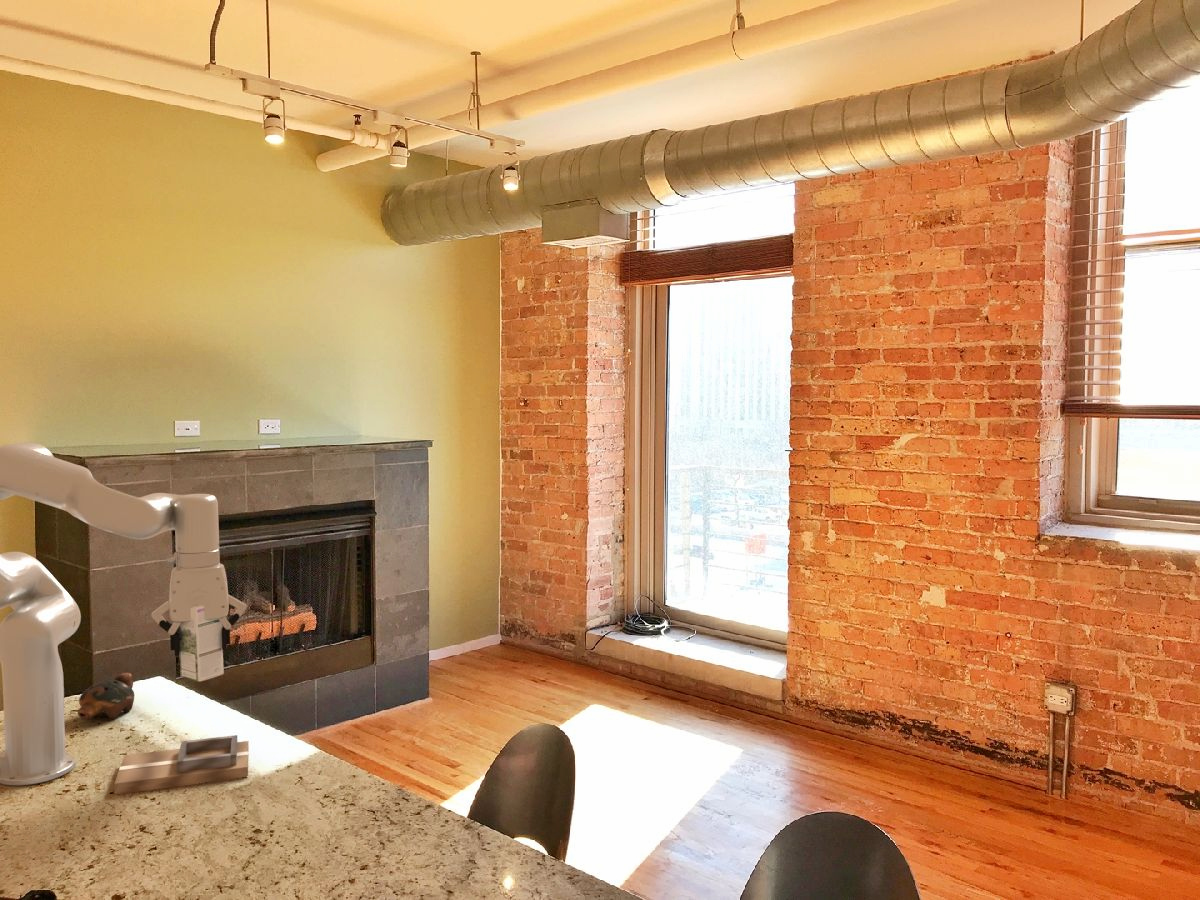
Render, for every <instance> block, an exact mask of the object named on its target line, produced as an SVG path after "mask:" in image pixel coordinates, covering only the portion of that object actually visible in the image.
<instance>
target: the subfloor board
mask: <svg viewBox="0 0 1200 900" xmlns="http://www.w3.org/2000/svg"><path fill="white" fill-rule="evenodd" d="M248 752H249V740H246V741H238V735H226V736H217V737H209V738H200V739H192V740H191V739H190V740H184V741H183V740H182V741H181V742H180V747H179V748H176V749H175V748H174V749H168V750H158V751H157V750H156V751H149V752H141V753H131V754H124V756H123V759H122V761H121V765H120V766H119V769H118V772H117V775H116V777H115V778H116V779H115V780H114V787H113V788H114V795H122V794H128V793H137V792H144V791H152V790H160V789H166V788H167V789H169V788H177V787H184V786H191V785H193V786H194V785H199V783H200V784H206V783H205V782H208V783H213V782H212V781H216V782H221V781H222V780H224V781H228V779H231V780H237V779H236V778H239V779H242V778H241V777H247V776H248V777H249V754H248ZM248 777H247V778H248ZM222 782H223V781H222Z"/></svg>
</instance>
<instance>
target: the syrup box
mask: <svg viewBox="0 0 1200 900" xmlns="http://www.w3.org/2000/svg"><path fill="white" fill-rule="evenodd" d="M204 608H205V607H204V606H203V604H202V605H197V606H193V607H191V608H190V609H191V621H190V622H184V623H181V624H180V625H179V627H178V632H179V673H180V674H179V676H180V677H181V678H183V679H187V680H191V681H195V682H203V681H207V680H210V679H214V678H217V677H219V676H223V675H224V674H225V672H224V671H225V670H224V657H223V656H224V653H223V652H224V650H222V628H223V625H222V624H221V622H220V621H219V620H218V619H217V620H205V617H204Z"/></svg>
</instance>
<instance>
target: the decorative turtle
mask: <svg viewBox="0 0 1200 900" xmlns="http://www.w3.org/2000/svg"><path fill="white" fill-rule="evenodd" d="M133 687H134V677H133V675H132V673H130V672H121V673H120V674H118V675H116V677H115V678H114V679H105V680H102V681H98V682H96V683H95V684H92V685H91V686H89V687H88V688H87V689H85V691H83V692H82V693H81V695H80V697H79V699H78V704H79V706H80V708H78V710H77V716H78V717H79V718H80V719H81V720H84V721H86V720H90V719H92V718H93V717H94V718H96V717H98V716H99V715H100V714H101V713H105V714H106V715H107V717H109V718H110V719H111V720H115V719H116V718H117V717H119V716H120V714H121V713H122V712H124V713H129V712H130V711H131V710H133V707H134V702H135V691H134V689H133ZM94 718H93V719H94Z"/></svg>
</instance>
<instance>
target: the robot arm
mask: <svg viewBox="0 0 1200 900" xmlns="http://www.w3.org/2000/svg"><path fill="white" fill-rule="evenodd" d="M13 496H19V497H21V498H22V497H23V498H25V499H28V500H31V501H35V502H37V503H41V504H44V505H47V506H49V507H50V506H51V507H53V508H56V509H59V510H63V511H65V512H68V513H69V514H70V515H71V516H73V517H74V518H77V519H78V520H80V521H82V522H84V523H85V524H87V525H90V526H91V527H94V528H96V529H99V530H103V531H105V532H107V533H111V534H116V535H118V536H122V537H125V538H129V539H133V540H149V539H151V538H153V537H156V536H158V535H160V534H163V533H165V532H169V531H174V532H175V535H174V538H175V552H174V553H173V554H171V555H170V554H169V555H167V563H169V564H170V563H172V564H174V565H175V567H173V568H172V569H171V575H170V580H169V599H168V600H167V601H165V602H164V603H162V605H160V606H158V607H157V608H156V609H155V610H153V611H152V612H151V614H150V616H151V618H152V619H153V620H154V622H155V623H157V624H158V626H159V627H160V628H161V629H163V630H164V631H166V632H167V633H168V635H170V637H169V640H170V642H169V643H170V651H174V656H180V654H179V629H178V627H179V625H180V624H181V623H184V622H190V621H191V609H190V608H191V607H193V606H197V605H202V604H203V606H204V607H205V608H204V617H205V620H217V619H218V620H219V621H220V622H221V624H222V650H223V652H224V651H227V648H228V647H227V646H228V645H231V629H232V628H233V626H234V625H235V624H236V623H237V622H238V621H239V619H240V618H241V617H242V615H243V614H244V612H245V611H246V610H247V604H246V603H245V602H243V601H241V600H239V599H237V598H235V597H234V596H232V595H230V594H229V589H228V580H227V573H226V569H225V565H224V564H222V563H221V561H220V559H221V558H220V556H221V555H220V530H219V527H220V526H219V524H220V523H219V503H218V499H217V497H216V496H215V495H213V494H210V493H209V494H208V493H190V494H174V493H168V492H167V493H165V492H153V493H150V494H147V495H143V496H139V497H138V496H135V495H131V494H129V493H125V492H122V491H120V490H116V489H113V488H110V487H108V486H105V485H104V484H102V483H100V482H98V481H97V480H96V479H95V477H93V474H92V472H91V471H90V469H88V468H87V467H85V466H82V465H79V464H76V463H72V462H69V461H67V460H63V459H60V458H58V457H55V456H54V454H53V453H52V452H51V451H50V450H49V449H48V448H47V447H45V446H44V445H42V444H39V443H37V442H31V441H30V442H29V441H25V442H16V443H8V444H3V445H0V502H1V501H3V500H6V499H8V498H11V497H13ZM229 605H231V606H233V607H234V608H236V610H235V611H234V613H232V615H230V617H228V614H229V609H230V606H229ZM7 607H10V608H11V609H12V610H13V611H11V612H10V613H9V614H7V615H6V616H5V617H4V618H3V620H2V621H1V622H0V667H1V668H0V669H1V675H2V676H1V677H2V697H3V698H2V699H3V727H4V730H3V731H4V733H3V734H4V750H2V751H0V784H2V785H5V786H26V785H27V786H28V785H34V784H39V783H44V782H48V781H52V780H55V779H58V778H60V777H63V776H64V775H66V774H68V773H69V772H71V771H72V770H73V769H74V767H75V765H76V758H75V757H74V756H73V755H72V754H69V753H66V725H65V724H66V723H65V721H66V720H65V688H64V672H63V671H64V670H63V664H62V661H61V658H60V654H59V648H58V647H59V645H60V644H61V643H63V642H65V641H66V640H68V639H70V637H72V635H74V634H75V633H76V632H77V631H78V628H79V627H80V624H81V619H82V616H81V615H82V614H81V610H80V608H79V605H78V604H77V602H76V601H75V599H74V598H73V597H72V596H71V595H70V593H69V592H68V591H67V590H66V589H65V588H64V587H63V585H62V584H61V583H60V582H59V581H58V580H57V578H56V577H54V575H53V574H52V573H51V572H50V571H49V570H48V569H47V568H46V566H44V564H42V562H41V561H39V560H38V559H37V558H35V557H34V556H32V555H30V554H29V553H25V552H23V551H22V552H21V551H8V552H7V551H6V552H3V553H0V610H2V609H4V608H5V609H6V608H7ZM168 610H169V618H170V620H171V621H172V622H170V621H168V620H167V619H166V618H164V616H163V614H164V613H165V612H167V611H168Z"/></svg>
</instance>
